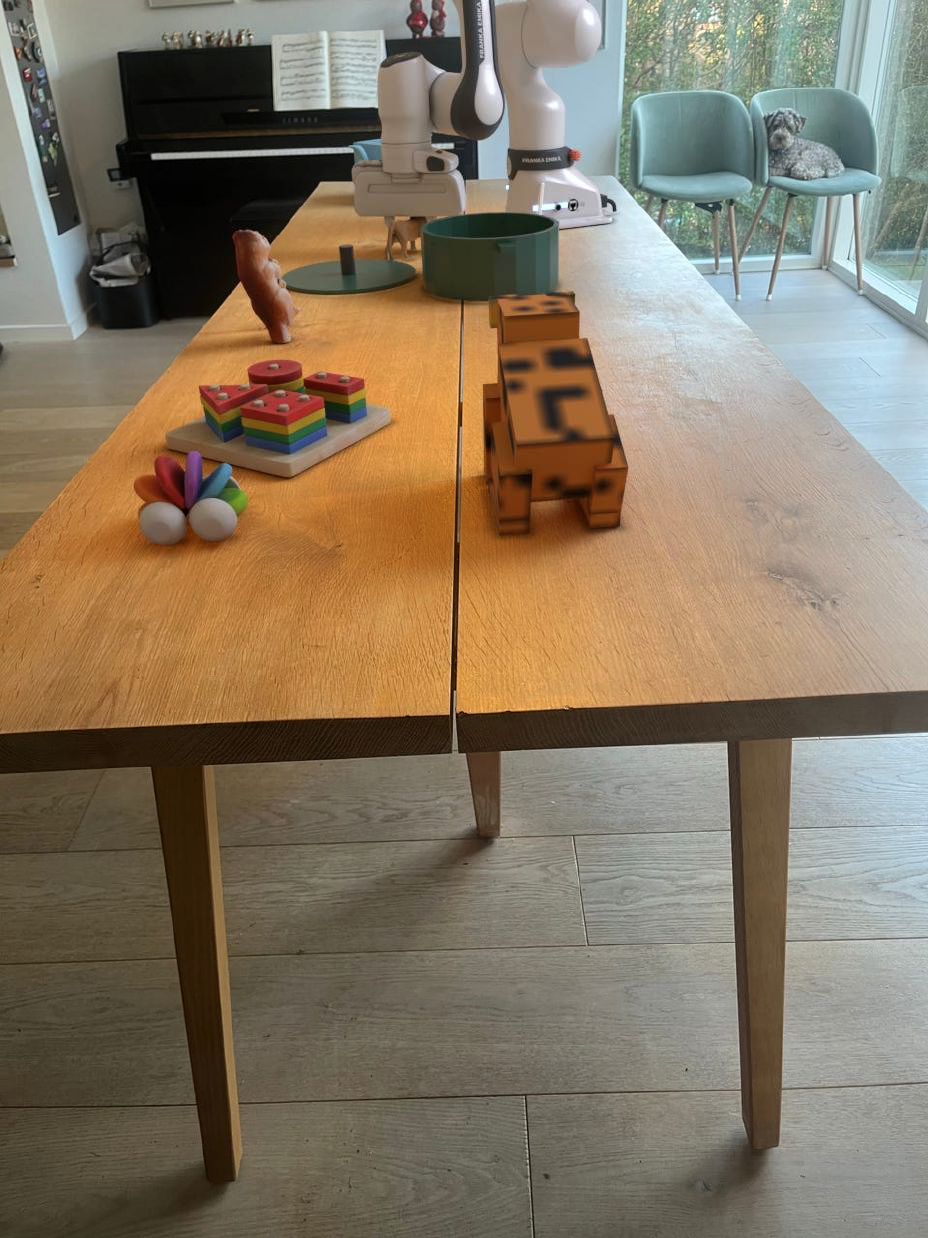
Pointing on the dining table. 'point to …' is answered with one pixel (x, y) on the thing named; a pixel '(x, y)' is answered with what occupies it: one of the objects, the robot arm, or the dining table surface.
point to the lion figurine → (404, 235)
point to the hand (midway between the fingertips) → (412, 242)
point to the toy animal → (548, 416)
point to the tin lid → (348, 275)
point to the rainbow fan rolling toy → (188, 501)
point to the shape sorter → (280, 419)
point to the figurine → (264, 284)
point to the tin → (490, 255)
